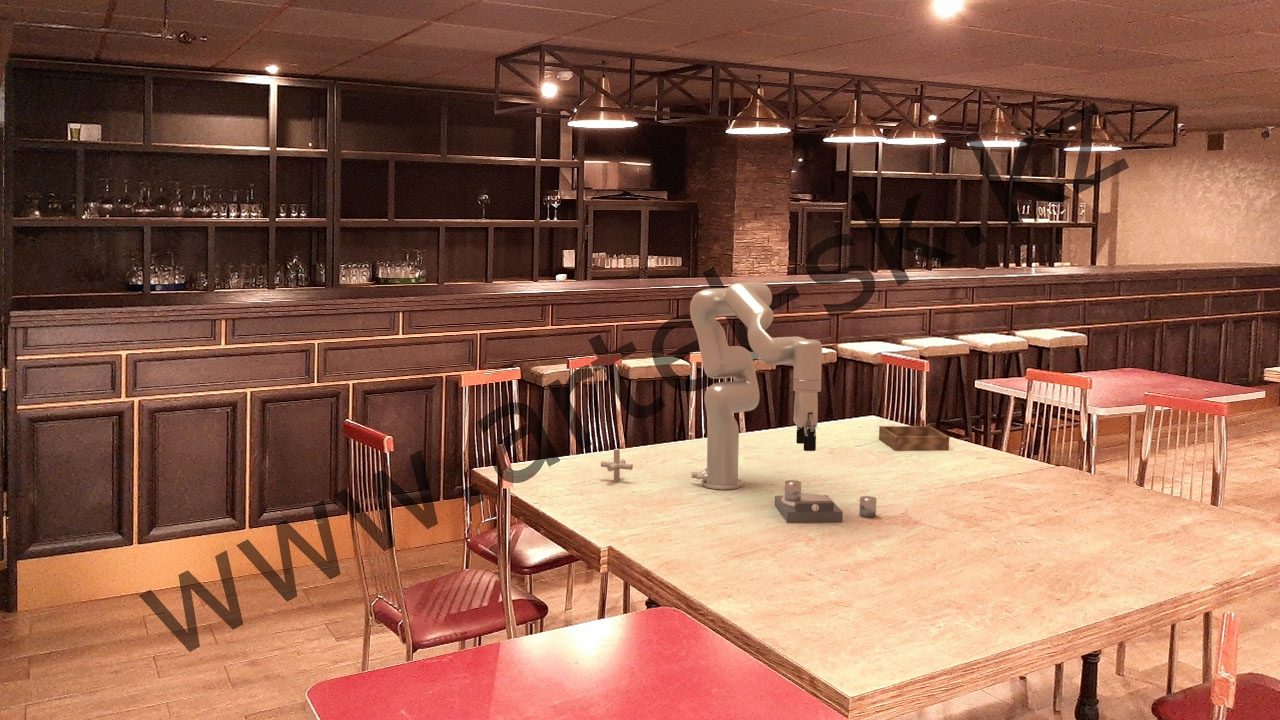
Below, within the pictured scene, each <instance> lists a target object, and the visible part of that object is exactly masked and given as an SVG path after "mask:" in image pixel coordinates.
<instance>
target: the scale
mask: <svg viewBox="0 0 1280 720" xmlns="http://www.w3.org/2000/svg"><path fill="white" fill-rule="evenodd" d="M774 507H775V508H776V509H777V511H778V512H779V515H781V516H782V518H783V519H784V521H785V522H786V523H790V524H791V523H793V524H794V523H842V522H843V513H844V511H843V509H841V508H840V507H839V506H838V505H837V504H836V503H835V502H834V501H833V499H832V498H830V497H829V496H828V495H825V494H822V495H821V494H818V493H809V492H808V493H807V492H806V493H805V492H803V493H802V492H801V501H795V502H789V501H786V500H785V495H774Z"/></svg>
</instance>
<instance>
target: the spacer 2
mask: <svg viewBox="0 0 1280 720" xmlns="http://www.w3.org/2000/svg"><path fill="white" fill-rule="evenodd" d="M858 515H859V517H860V518H862V519H863V518H864V519H875V518H876V517H877V497H875V496H871V495H863V496H859V513H858Z"/></svg>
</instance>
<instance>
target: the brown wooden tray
mask: <svg viewBox="0 0 1280 720" xmlns="http://www.w3.org/2000/svg"><path fill="white" fill-rule="evenodd" d="M878 440H879V441H880V442H881V443H883V444H885V445H886V446H887V447H889V448H890V449H892V450H893V451H894V452H911V451H912V452H913V451H914V452H917V451H920V452H925V451H926V452H927V451H928V452H929V451H938V452H939V451H943V452H944V451H950V436H949V435H947V434H946V433H944V432H942V431H940V430H938V429H936V428H935V427H934V426H932V425H911V426H910V425H899V426H898V425H897V426H896V425H895V426H894V425H888V426H887V425H886V426H885V425H884V426H882V425H880V426H878Z"/></svg>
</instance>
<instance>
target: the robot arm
mask: <svg viewBox="0 0 1280 720" xmlns="http://www.w3.org/2000/svg"><path fill="white" fill-rule="evenodd" d="M772 294H773V293H772V291H771V288H770V287H768V285H767V284H765V283H763V282H760V281H747V282H746V281H745V282H736V283H732V284H730V285H729V286H728V287H726V288H725V287H724V288H723V287H722V288H721V287H720V288H715V287H714V288H707V289H701V290H700V291H697V292H696V293H695V294H694V295H693V297H692V299H691V301H690V306H689V314H690V319H691V323H692V325H693V327H694V330H695V333H696V336H697V341H698V346H699V351H700V356H701V362H702V367H703V371H704V373H705V375H706V376H707V377H708V378H710V379H718V380H719V379H727V378H732V379H733V380H731V381H722V382H717V383H713V384H711V385H709V386H708V387H707V388H706V390H705V393H704V396H703V397H704V405H705V410H706V411H705V412H706V419H707V420H706V421H707V422H706V426H707V429H706V431H707V433H706V434H707V436H706V439H707V443H706V445H707V446H706V449H707V450H706V453H707V454H706V468H704V470H701V471H700V472H699V471H691V474H690V475H691V479H696V480H701V486H703V487H705V488H707V489H711V490H723V491H724V490H736V489H740V488H742V487H743V484H744V481H743V480H742V479H740V478H739V445H740V444H739V441H740V440H739V438H740V431H739V430H740V429H739V424H738V421H737V420H736V418H735V417H734V416H735V415H734V414H735V413H741V412H742V413H744V412H751V411H753V410H755V409H756V408H757V407H758V405H759V403H760V389H759V383H758V378H757V374H756V373H757V372H756V367H755V364H754V363H755V362H754V358H753V356H752V354H751V352H750V351H749V350H748V349H747V348H745V347H743V346H741V345H734V346H733V345H732V346H729V344H728V341H727V336H726V332H725V329H724V328H723V327H722V326H723V325H721V324H720V323H719V321H718V320H716V317H733V316H736V317H737V318H738V319H739V320H740V321H741V322H742V323H743V324H744V325H745V327H746V328H747V340H748V344H749V347H750V348H751V350H752V351H753V353H754V354H755V355H756V356H757V357H758V358H759V360H761V361H762V362H763V363H765V364H766V365H770V366H779V365H792V364H793V373H792V374H793V380H792V381H793V382H792V386H793V387H792V391H794V392H795V394H794V403H793V404H794V405H793V418H792V419H793V423H794V425H796V439H795V441H796V443H797V445H798V444H800V445H803V451H804V452H815V451H816V450H817V434H816V433H817V432H816V431H817V430H816V428H817V426H818V420H819V419H818V418H819V417H818V415H819V414H818V413H819V412H818V411H819V410H818V409H819V406H818V405H819V404H818V403H819V399H818V393H819V392H822V367H823V366H822V363H823V361H822V360H823V357H822V356H823V345H822V342H821V341H820V340H818V339H808V338H804V337H802V336H796V335H795V336H782V337H781V336H778V337H772V336H770V335H769V333H768V332H767V331H766V330H767V329H768V328H769V327H770V326H771V325H772V323H773V320H774V317H775V316H774V315H775V314H774V311H773V310H772V308H770V306H771V304H772V301H773V295H772Z"/></svg>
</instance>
